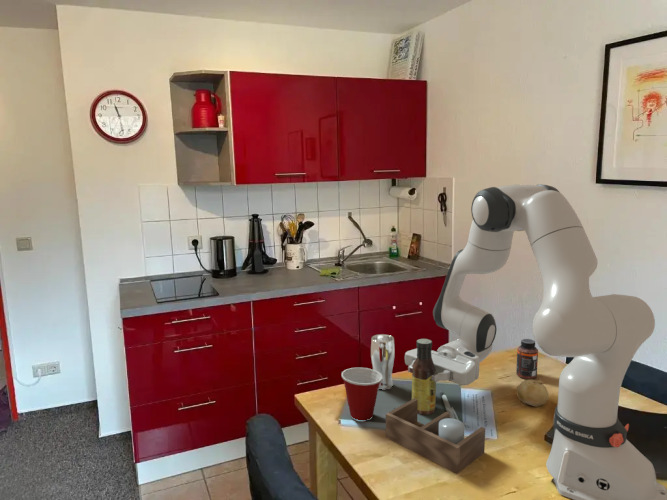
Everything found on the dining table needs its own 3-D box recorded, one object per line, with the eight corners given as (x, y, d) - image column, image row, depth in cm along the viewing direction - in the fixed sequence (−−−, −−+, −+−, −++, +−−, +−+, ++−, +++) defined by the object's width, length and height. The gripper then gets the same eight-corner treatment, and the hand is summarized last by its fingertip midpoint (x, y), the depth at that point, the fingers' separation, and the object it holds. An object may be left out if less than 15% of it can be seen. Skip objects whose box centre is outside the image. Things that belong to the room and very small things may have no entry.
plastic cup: (391, 419, 130) (391, 376, 128) (356, 431, 125) (356, 387, 123) (367, 402, 139) (367, 362, 137) (334, 413, 134) (333, 371, 132)
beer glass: (398, 383, 150) (398, 336, 148) (388, 393, 145) (388, 344, 142) (377, 378, 154) (377, 332, 151) (367, 387, 148) (366, 339, 146)
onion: (530, 412, 132) (532, 387, 131) (510, 399, 140) (511, 375, 138) (554, 406, 135) (555, 382, 134) (532, 393, 142) (534, 370, 141)
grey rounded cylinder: (468, 452, 113) (469, 424, 112) (454, 463, 110) (455, 434, 108) (447, 443, 117) (448, 415, 116) (433, 452, 114) (433, 424, 112)
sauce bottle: (435, 419, 130) (436, 347, 126) (410, 416, 131) (411, 345, 127) (435, 406, 136) (436, 337, 132) (412, 404, 137) (413, 336, 134)
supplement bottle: (539, 379, 151) (542, 344, 149) (520, 380, 151) (521, 344, 149) (532, 371, 157) (534, 337, 155) (513, 371, 157) (515, 337, 155)
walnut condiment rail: (484, 456, 113) (485, 428, 112) (456, 478, 106) (457, 448, 105) (414, 423, 128) (414, 398, 127) (385, 440, 121) (385, 414, 119)
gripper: (422, 339, 147) (391, 352, 138) (484, 358, 132) (454, 374, 123) (421, 359, 148) (391, 373, 139) (483, 380, 134) (454, 398, 124)
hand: (421, 374), depth 131 cm, fingers closed on sauce bottle, 6 cm apart
